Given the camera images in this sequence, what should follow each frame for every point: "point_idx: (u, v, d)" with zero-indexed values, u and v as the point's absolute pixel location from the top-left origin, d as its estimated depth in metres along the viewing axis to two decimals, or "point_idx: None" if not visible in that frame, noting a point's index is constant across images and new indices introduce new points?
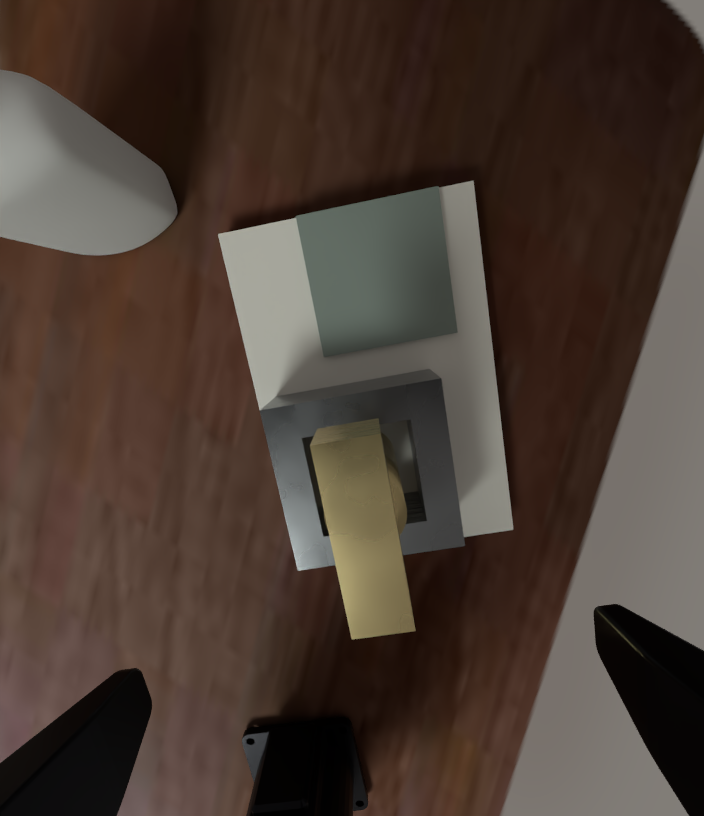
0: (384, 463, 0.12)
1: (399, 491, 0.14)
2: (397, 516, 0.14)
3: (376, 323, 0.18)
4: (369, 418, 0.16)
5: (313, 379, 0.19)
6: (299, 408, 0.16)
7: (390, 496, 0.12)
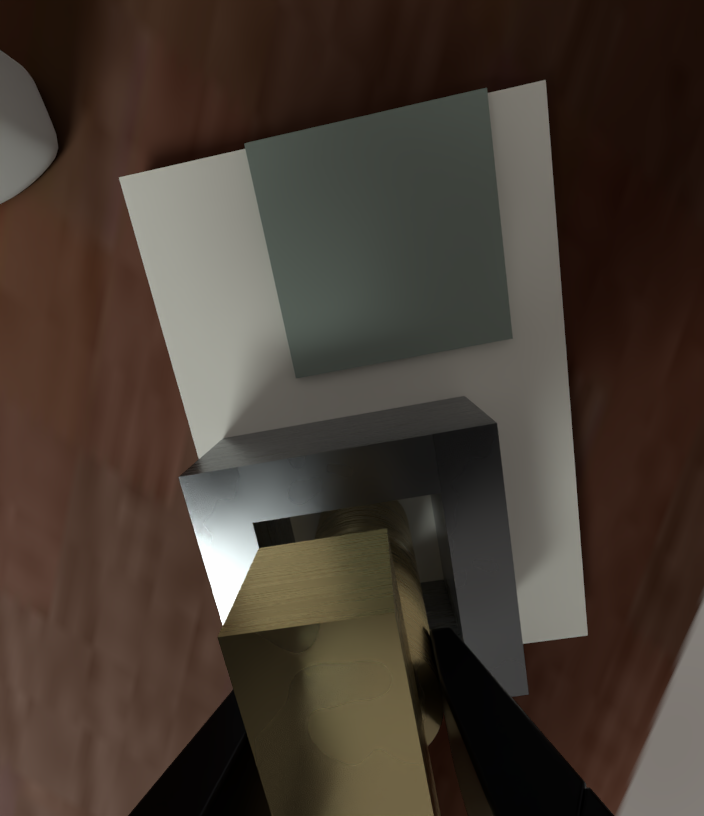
0: (404, 680, 0.05)
1: (428, 666, 0.07)
2: (424, 713, 0.07)
3: (380, 324, 0.11)
4: (369, 491, 0.09)
5: (281, 412, 0.12)
6: (247, 473, 0.09)
7: (418, 749, 0.05)
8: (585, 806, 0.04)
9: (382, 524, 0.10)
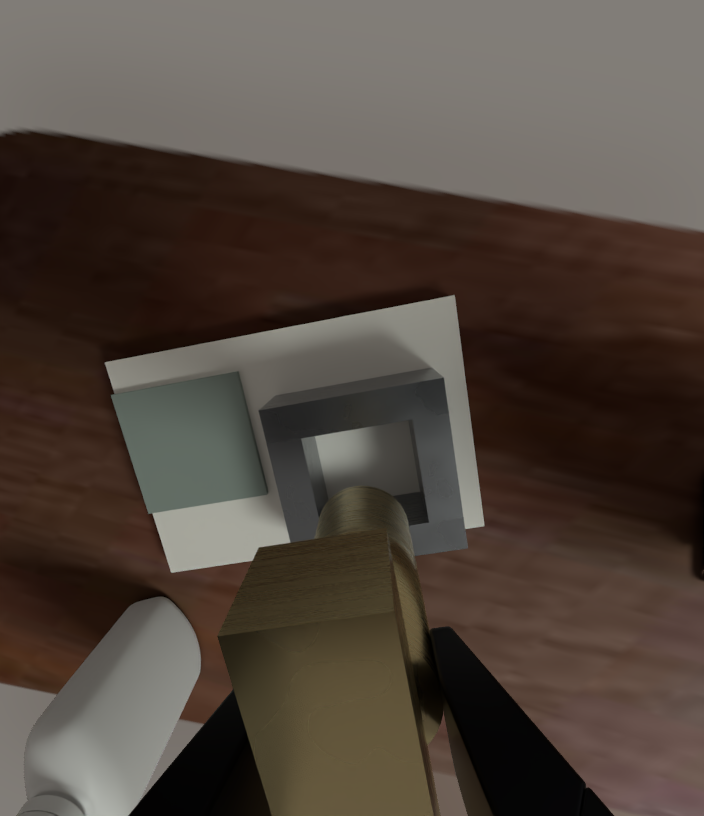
0: (404, 679, 0.05)
1: (428, 665, 0.07)
2: (424, 712, 0.07)
3: (233, 447, 0.19)
4: (301, 477, 0.17)
5: None
6: (294, 539, 0.17)
7: (417, 748, 0.05)
8: (586, 806, 0.04)
9: (382, 524, 0.10)
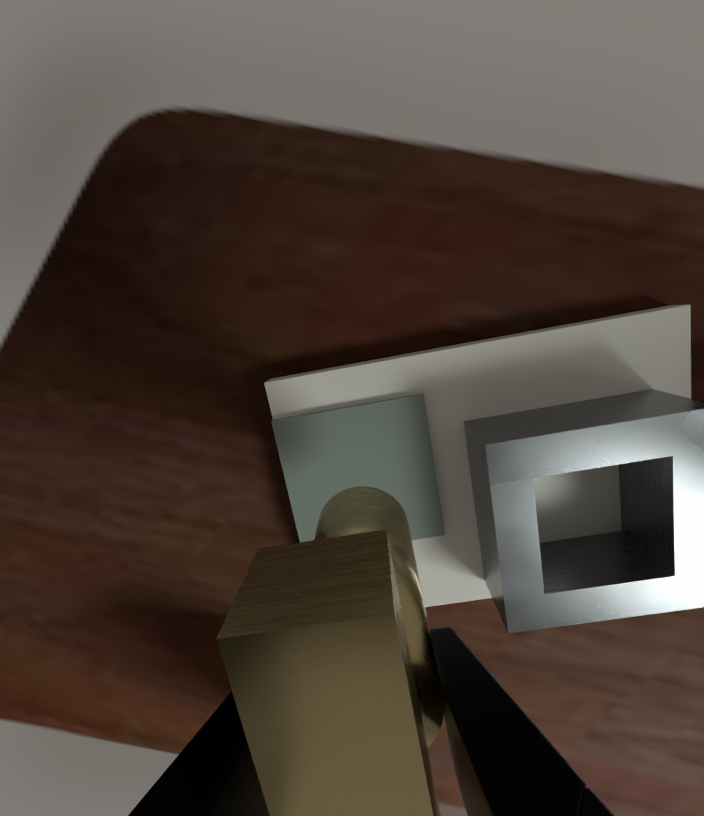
0: (404, 682, 0.05)
1: (428, 667, 0.07)
2: (424, 714, 0.07)
3: (410, 481, 0.16)
4: (527, 523, 0.14)
5: (468, 543, 0.17)
6: (509, 594, 0.14)
7: (418, 751, 0.05)
8: (585, 806, 0.04)
9: (381, 525, 0.10)
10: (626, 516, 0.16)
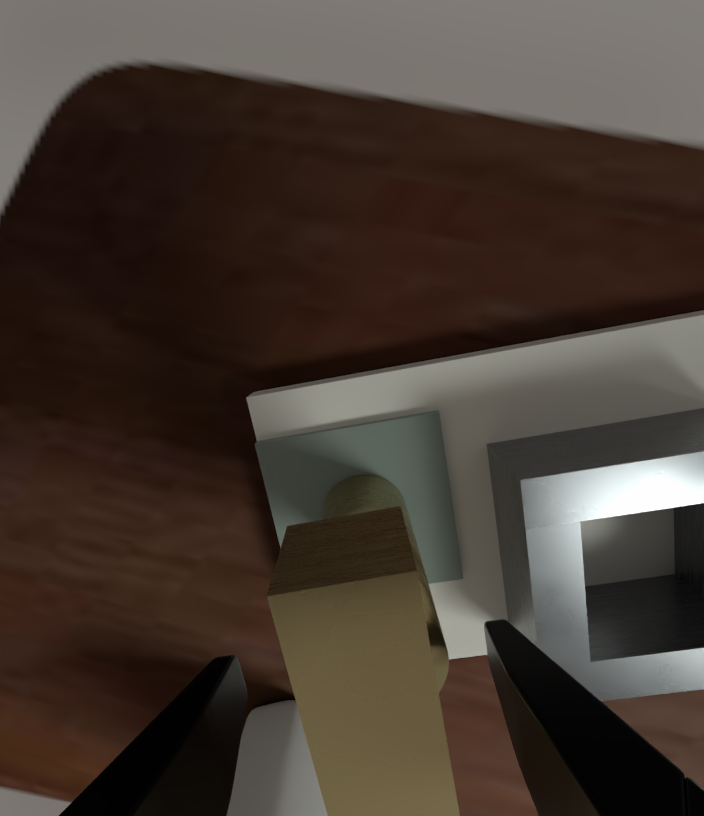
0: (424, 628, 0.06)
1: (435, 626, 0.08)
2: None
3: (422, 516, 0.14)
4: (572, 576, 0.11)
5: (490, 587, 0.15)
6: None
7: (434, 686, 0.06)
8: (689, 796, 0.04)
9: (385, 508, 0.11)
10: (682, 558, 0.14)
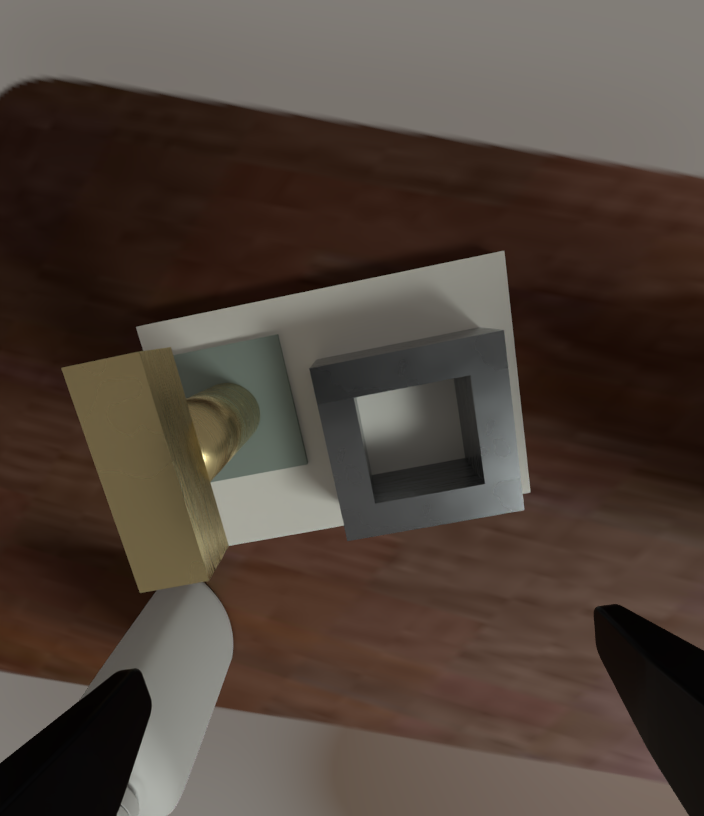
0: (147, 386, 0.10)
1: (205, 430, 0.12)
2: (204, 459, 0.12)
3: (272, 415, 0.18)
4: (353, 439, 0.16)
5: (330, 472, 0.19)
6: (344, 505, 0.16)
7: (160, 425, 0.10)
8: None
9: (222, 393, 0.16)
10: (464, 443, 0.19)
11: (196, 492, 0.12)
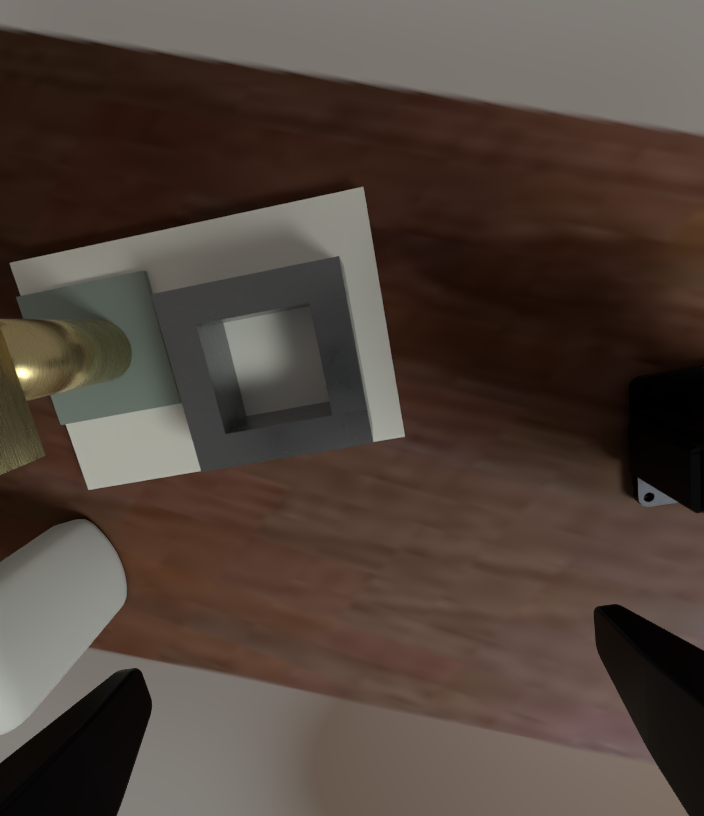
0: None
1: (14, 338, 0.13)
2: (15, 366, 0.13)
3: (143, 352, 0.19)
4: (199, 367, 0.16)
5: None
6: (195, 435, 0.17)
7: None
8: None
9: (75, 321, 0.16)
10: None
11: None
